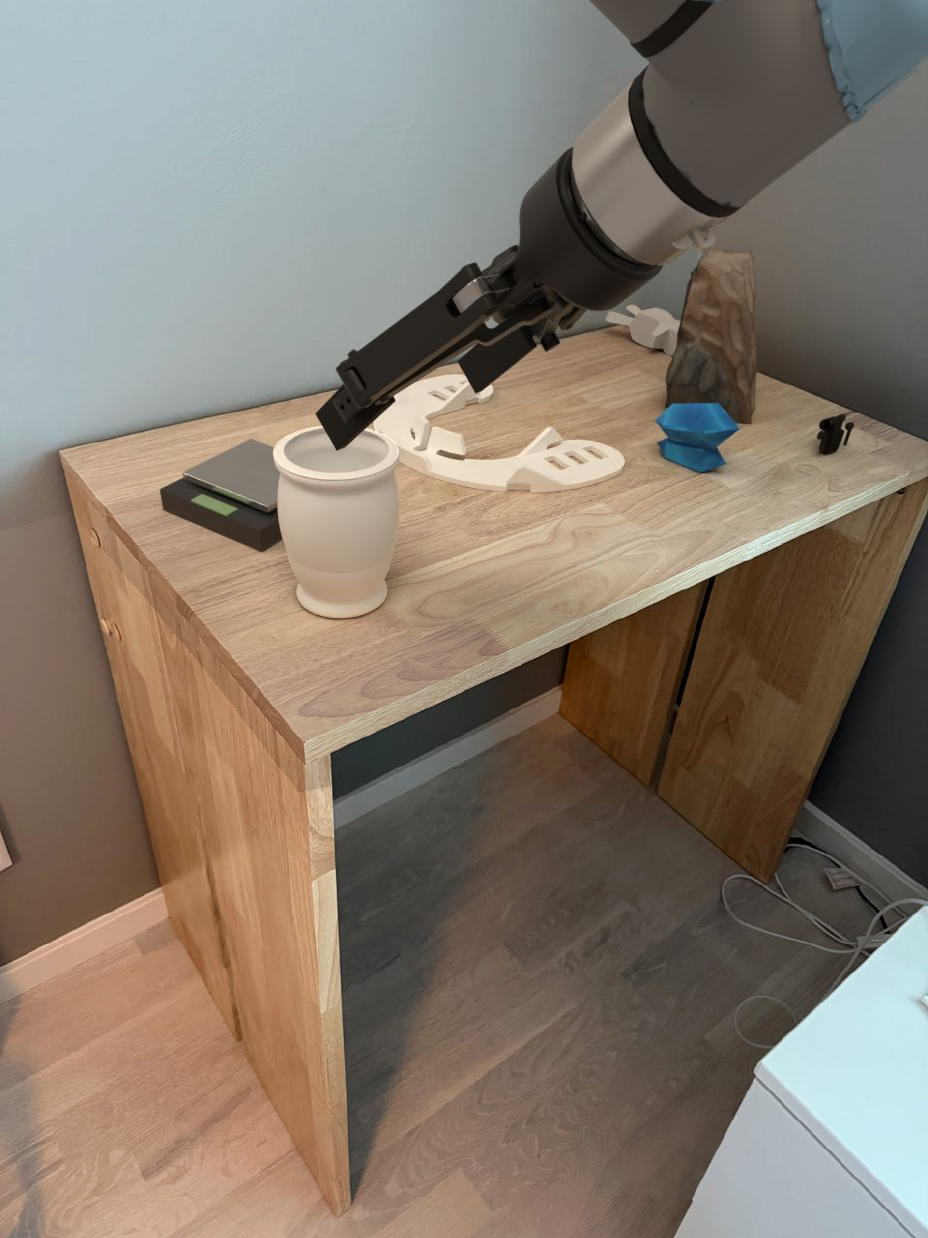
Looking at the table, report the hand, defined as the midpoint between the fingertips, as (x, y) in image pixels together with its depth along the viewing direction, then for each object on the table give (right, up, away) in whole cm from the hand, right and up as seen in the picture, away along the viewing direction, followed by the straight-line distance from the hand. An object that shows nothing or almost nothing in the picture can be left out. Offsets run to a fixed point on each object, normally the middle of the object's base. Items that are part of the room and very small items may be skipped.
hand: (404, 401), depth 60 cm
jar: (-7, -13, +23) cm, 27 cm away
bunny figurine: (+35, +30, +83) cm, 95 cm away
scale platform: (-18, 0, +34) cm, 38 cm away
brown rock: (+38, +14, +63) cm, 75 cm away
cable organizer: (+5, +8, +52) cm, 52 cm away
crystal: (+32, +4, +49) cm, 58 cm away
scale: (-18, -2, +35) cm, 40 cm away
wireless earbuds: (+51, +7, +54) cm, 74 cm away
